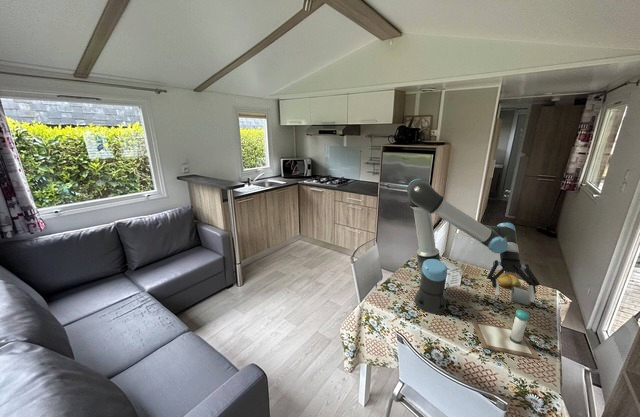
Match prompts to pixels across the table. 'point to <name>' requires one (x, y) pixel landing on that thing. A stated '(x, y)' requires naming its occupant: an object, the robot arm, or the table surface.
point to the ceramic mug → (520, 296)
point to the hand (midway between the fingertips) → (514, 298)
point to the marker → (519, 326)
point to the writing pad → (502, 340)
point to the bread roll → (508, 280)
